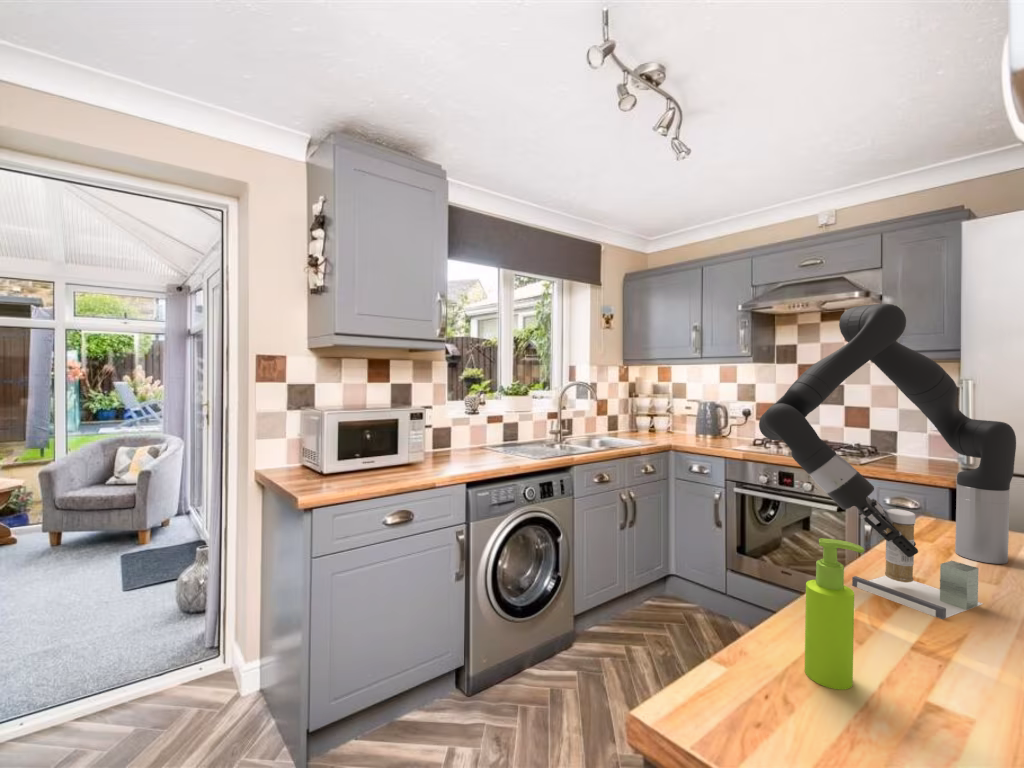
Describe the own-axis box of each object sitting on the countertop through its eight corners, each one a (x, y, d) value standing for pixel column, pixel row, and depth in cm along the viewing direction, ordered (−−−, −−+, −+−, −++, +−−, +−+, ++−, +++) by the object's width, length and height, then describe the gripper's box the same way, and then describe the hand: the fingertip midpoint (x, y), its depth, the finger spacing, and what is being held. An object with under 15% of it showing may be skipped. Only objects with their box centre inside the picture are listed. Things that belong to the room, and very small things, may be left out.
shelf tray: (892, 580, 105) (892, 565, 104) (982, 611, 91) (983, 594, 91) (851, 592, 99) (851, 577, 99) (942, 627, 85) (942, 609, 85)
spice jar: (906, 575, 99) (908, 509, 98) (918, 584, 94) (920, 515, 94) (880, 572, 100) (882, 507, 100) (890, 581, 96) (892, 513, 95)
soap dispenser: (863, 697, 66) (865, 552, 66) (804, 680, 70) (806, 542, 70) (859, 675, 71) (862, 539, 71) (804, 660, 75) (807, 531, 75)
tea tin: (950, 596, 94) (951, 560, 94) (977, 605, 90) (978, 568, 90) (939, 600, 92) (940, 563, 92) (966, 610, 88) (967, 571, 88)
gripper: (856, 475, 95) (936, 550, 88) (856, 464, 107) (926, 530, 100) (823, 498, 98) (897, 572, 92) (826, 485, 110) (893, 550, 103)
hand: (912, 550), depth 96 cm, fingers closed on spice jar, 4 cm apart
